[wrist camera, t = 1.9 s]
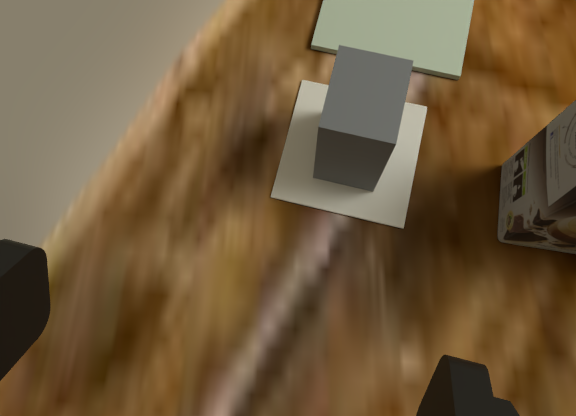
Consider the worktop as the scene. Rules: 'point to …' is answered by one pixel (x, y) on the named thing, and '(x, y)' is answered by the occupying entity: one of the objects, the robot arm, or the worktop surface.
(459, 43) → the sage pad
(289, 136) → the cream tile
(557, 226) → the coffee box
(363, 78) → the charcoal block
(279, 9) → the worktop surface
